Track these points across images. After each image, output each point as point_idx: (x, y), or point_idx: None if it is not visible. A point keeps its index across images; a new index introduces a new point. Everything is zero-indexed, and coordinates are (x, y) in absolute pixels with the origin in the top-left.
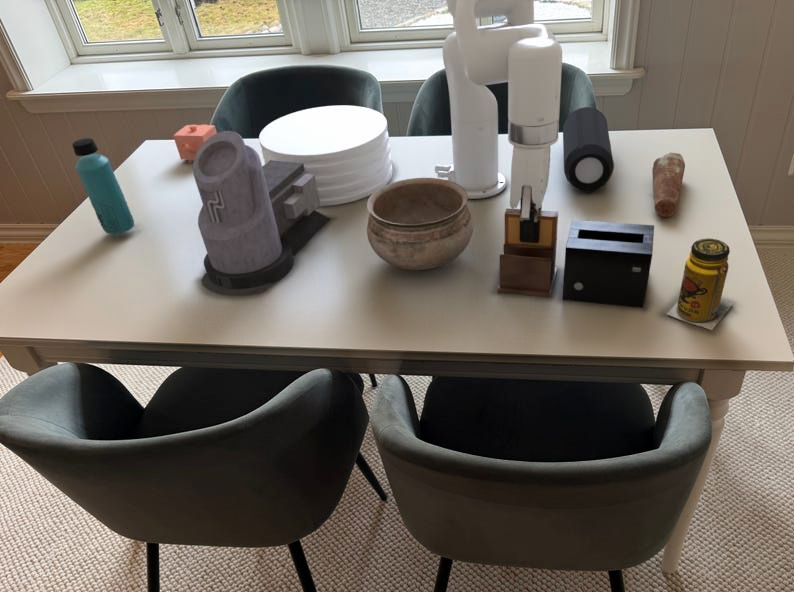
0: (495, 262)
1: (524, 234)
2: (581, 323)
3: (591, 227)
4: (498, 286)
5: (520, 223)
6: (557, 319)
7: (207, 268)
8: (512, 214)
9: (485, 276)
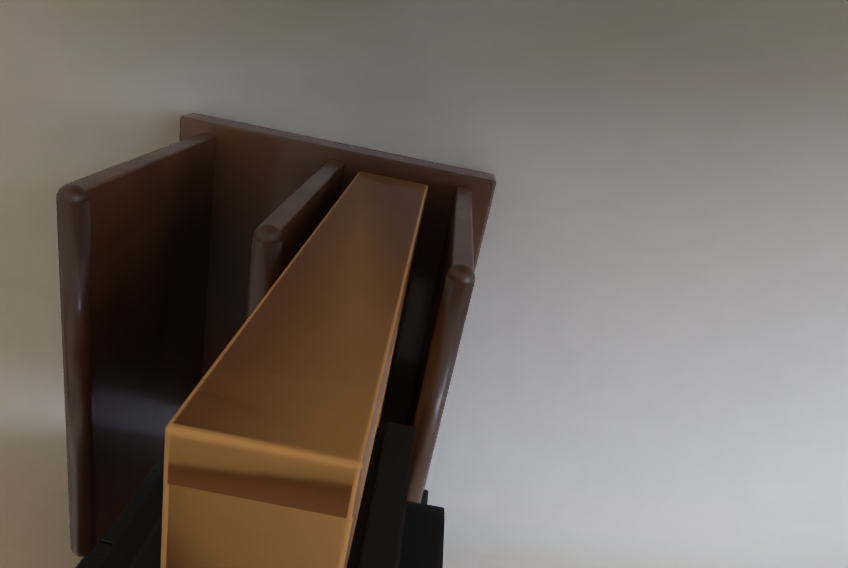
0: (549, 98)
1: (152, 490)
2: (8, 490)
3: None
4: (204, 124)
5: (150, 537)
6: (11, 405)
7: None
8: (163, 530)
9: (373, 27)
